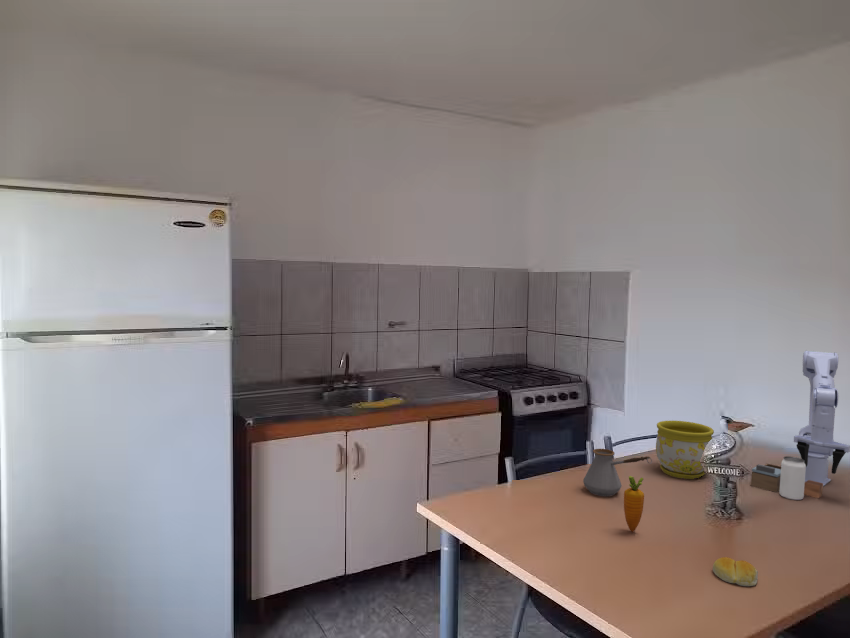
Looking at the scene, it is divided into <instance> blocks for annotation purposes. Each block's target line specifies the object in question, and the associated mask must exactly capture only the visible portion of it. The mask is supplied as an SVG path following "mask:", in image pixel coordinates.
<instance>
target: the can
mask: <svg viewBox="0 0 850 638" xmlns="http://www.w3.org/2000/svg"><path fill="white" fill-rule="evenodd" d="M782 458H783V459H782V460H781V465H780V466H781V476H780V490H779V491H778V492H779V495H780V496H781V497H782V498H785V499H786V500H787V499H788V500H790V501H791V500H793V501H802V500H803V499H804V498H805V497H804V496H805V495H804V486H805V472H806V465H805V463H804V461H805V460H803V459H802V458H801V457H797V456H791V455H790V456H789V455H787V456H783V457H782Z"/></svg>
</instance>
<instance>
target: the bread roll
mask: <svg viewBox="0 0 850 638" xmlns="http://www.w3.org/2000/svg"><path fill="white" fill-rule="evenodd" d="M712 572H713V573H714V575H715V576H716V577H718V578H719V579H720V580H722V581H724V582H726V583H729V584H736V585H738V586H741V587H754V586H756V585H757V583H758V577H759V575H758V574H759V571H758V570H757V569H756V567H755V566H754V565H753V564H751V563H750V562H748V561H747V560H735V559H734V558H731V557H729V556H723V557H719V558H717V559H716V560H715V561H714V562H713V564H712Z"/></svg>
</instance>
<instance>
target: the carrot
mask: <svg viewBox="0 0 850 638" xmlns="http://www.w3.org/2000/svg"><path fill="white" fill-rule="evenodd" d="M628 480H629V483H630V484H629V483H628V485H629V487H628V488H626V489H625V490H624V493H623V511H624V517H625V521H626V524H627V527H628V529H629V531H630V532H631V533H634V532H635V531H636V529H637V528H638V526H639V524H640V523H641V518H642V516H643V512H644V502H645V493H644V492H643V491H642V490H641V489H639V487H640V486H642V485H643V481H644V477H640V478H639V480H638V482H636V480H635V477H634V476H632V475H629V476H628Z"/></svg>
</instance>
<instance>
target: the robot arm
mask: <svg viewBox="0 0 850 638" xmlns="http://www.w3.org/2000/svg"><path fill="white" fill-rule="evenodd" d="M838 366H839V354H838V353H837V352H825V351H814V350H813V351H812V350H811V351H810V350H807V349H806V350H804V351H803V355H802V375H803V376H805V377H806V378H808V381H809V384H810V387H809V390H810V391H809V412H808V413H809V414H808V424H807V425H806V426H804V427H801V428H800V430H799V432H798V435H796V434H795V435H794V436H793V442H794V443H795V444H796V449H797V451H798V452H799V455H800V458H801V459H803V460H805V461H804V463H805V465H806V472H805V482H806V481H808V480H811V481H815V482H820V483H823V487H824V486H826V485H827V484H829V482H831V480H832V479H831V478H829V477H828V476H829V457H832V467H831V474H833V475H834V474H836V473H837V469H838V468H839V467H838V466H839V464H840V462H841V460H842V459H843V457H844V456H845V455H846V453H847V454H849V453H850V445H849V444H847V443H841V442H839V441H838V442H837V441H835V440H834V428H835V416H836V409H837V407H838V404H839V391H838V388H836V387H835V386H836V385H835V379H834V378H835V376H836V375H837V370H838Z"/></svg>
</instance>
